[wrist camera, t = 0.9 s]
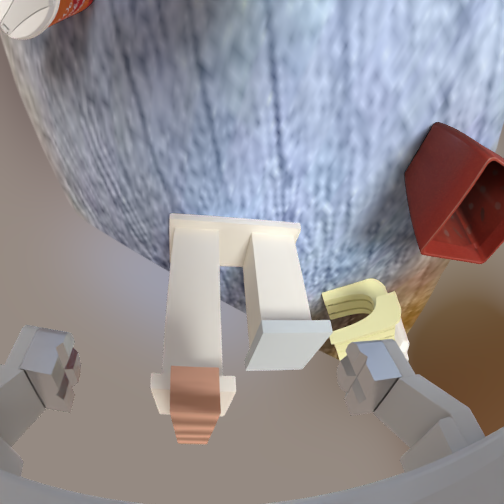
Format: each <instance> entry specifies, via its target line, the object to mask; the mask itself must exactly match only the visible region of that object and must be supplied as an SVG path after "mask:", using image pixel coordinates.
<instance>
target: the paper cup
mask: <svg viewBox="0 0 504 504" xmlns="http://www.w3.org/2000/svg"><path fill="white" fill-rule="evenodd" d="M92 1H93V0H0V26H1V29H2V30H3V31H4V32H5V33H6V34H8V35H9V37H11V38H15V39H19V40H26V39H31V38H33V37H36V36H37V35H39V34H41V33H42V32H43V31H44V30H46V29H47V28H48V27H49V26H51V25H53V24H56V23H58V22H60V21H62V20H64V19H66V18H68V17H70V16H72V15H75V14H77V13H79V12H81V11H83V10H84V9H86V8H87V7H88V6H89V5H90V4H91V3H92Z"/></svg>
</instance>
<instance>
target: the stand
mask: <svg viewBox="0 0 504 504" xmlns="http://www.w3.org/2000/svg"><path fill="white" fill-rule="evenodd" d="M300 231H301V226H300V223H291V222H280V221H269V220H257V219H245V218H232V217H219V216H206V215H191V214H176V213H170V219H169V241H170V263H171V265H170V275H169V285H168V295H167V307H166V319H165V333H164V349H163V368H162V374H161V373H151V386H150V389H151V392H152V394H153V397H154V400H155V402H156V405H157V408H158V410H159V413H160V414H169V415H171V414H170V376H171V366H187V367H216V368H219V383H220V406H221V414H220V416H224V415H225V413H226V411H227V409H228V407H229V405H230V403H231V401H232V399H233V397H234V395H235V393H236V381H235V376H223V365H222V341H221V340H222V339H221V309H220V266H232V267H243V274H244V287H245V299H246V312H247V324H248V336H249V348H250V349H249V351H248V354H247V356H246V358H245V370H246V371H257V370H258V371H262V370H294V369H302V368H303V367H304V366H305V365H306V364H307V363H308V362H309V360H310V359H311V358H312V357H313V356H314V354H315V353H316V352H317V351H318V350H319V349H320V347H321V346H322V345H323V344H324V343H325V341H326V340H327V339H328V338H329V336H330V335H331V334H332V333H333V331H332V326H331V322H330V320H311V315H310V310H309V305H308V300H307V295H306V291H305V286H304V281H303V277H302V272H301V268H300V263H299V259H298V254H297V250H296V245H295V243H296V241H297V238H298V236H299V233H300Z"/></svg>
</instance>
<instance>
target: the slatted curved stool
mask: <svg viewBox="0 0 504 504" xmlns="http://www.w3.org/2000/svg"><path fill="white" fill-rule="evenodd" d="M322 296H323V300H324V303H325V306H326V308H327V311H328V314H329V317H330V320H332V319H336V318H339V317H343V316H347V315H352V314H358V313H367V314H370V315H369V316H367V317H366V318H364V319H363V320H361V321H359V322H357V323H354V324H352V325H349V326H347V327H344V328H341V329H338V330H335V331H333V333H332V334H331V335H330V336H329V337H330V341H331V344H334V345H335V347H336V350H337V353H338V356H339V359H340V360H342V359H343V358H344V357H346V356H347V353H346V351H345V350H346V348H347V346H348V345H349V344H350V343H351V342H360V341H372V340H384V339H393V340H395V338H394V337H395V325H396V324H398V323H399V321H400V318H401V307H400V304H399V301H398V299H397V296H396V293H395V291H394V292H391V293H387V291H386V288H385V286H384V285H383V284H382V283H381V282H380V281H378V280H376V279H366V280H363V281H360V282H357V283H353V284H350V285H347V286H344V287H340V288H337V289H334V290H330V291H327V292H324V293H322Z"/></svg>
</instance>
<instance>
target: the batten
mask: <svg viewBox="0 0 504 504" xmlns="http://www.w3.org/2000/svg"><path fill="white" fill-rule="evenodd" d="M170 414H171V418H172V422H173V426H174V430H175V434H176V437H177V441H178V443H179V444H207V443H208V440H209V438H210V436H211V434H212V432H213V429H214V427H215V425H216V423H217V420H218V418H219V416H220V414H221V406H220V383H219V368H216V367H187V366H171V376H170Z"/></svg>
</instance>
